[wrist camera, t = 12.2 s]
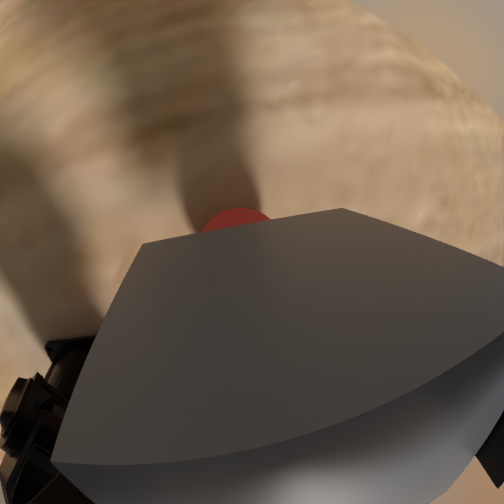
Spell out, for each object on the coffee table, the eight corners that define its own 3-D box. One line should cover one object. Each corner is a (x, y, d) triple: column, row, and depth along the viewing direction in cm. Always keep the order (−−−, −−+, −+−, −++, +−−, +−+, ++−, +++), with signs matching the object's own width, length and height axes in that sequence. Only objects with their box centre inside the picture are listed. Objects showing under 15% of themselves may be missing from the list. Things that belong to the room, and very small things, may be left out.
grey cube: (190, 400, 12) (216, 576, 4) (142, 243, 10) (50, 461, 2) (343, 361, 14) (446, 491, 5) (342, 207, 11) (551, 289, 3)
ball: (191, 212, 14) (193, 212, 19) (204, 312, 15) (202, 287, 20) (291, 202, 15) (268, 204, 20) (299, 298, 16) (275, 277, 20)
